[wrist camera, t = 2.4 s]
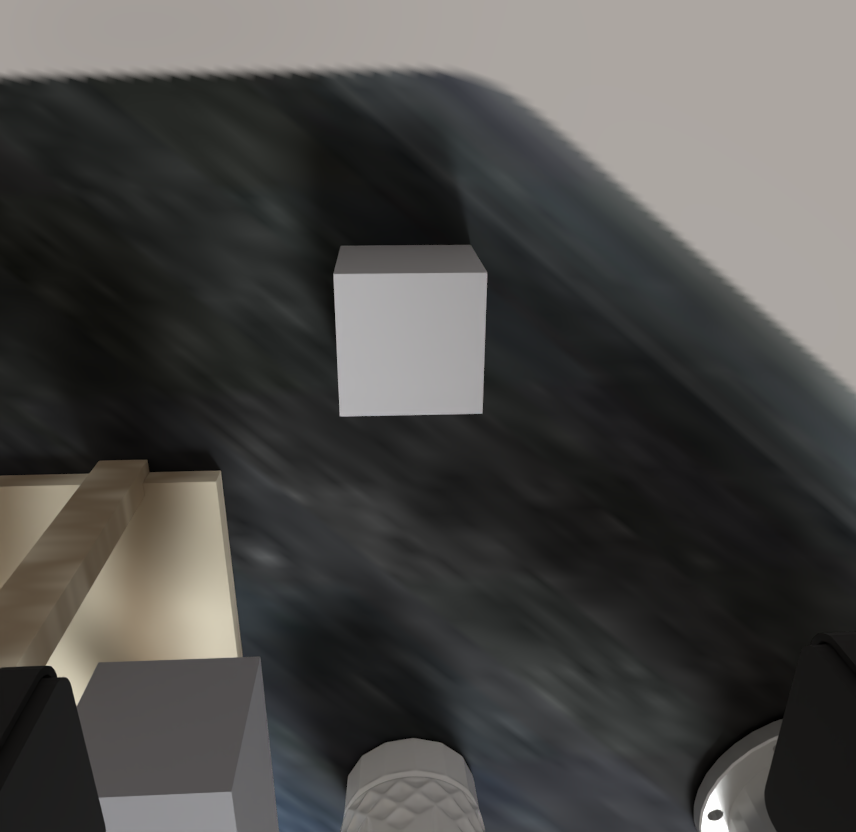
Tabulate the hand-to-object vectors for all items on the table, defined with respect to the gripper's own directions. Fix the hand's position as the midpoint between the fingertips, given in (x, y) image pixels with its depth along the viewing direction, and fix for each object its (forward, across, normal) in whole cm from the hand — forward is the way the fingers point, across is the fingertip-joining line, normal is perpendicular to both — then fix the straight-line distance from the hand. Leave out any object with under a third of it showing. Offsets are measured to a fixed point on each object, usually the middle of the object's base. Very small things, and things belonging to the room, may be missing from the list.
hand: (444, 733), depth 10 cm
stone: (+22, 0, 0) cm, 22 cm away
